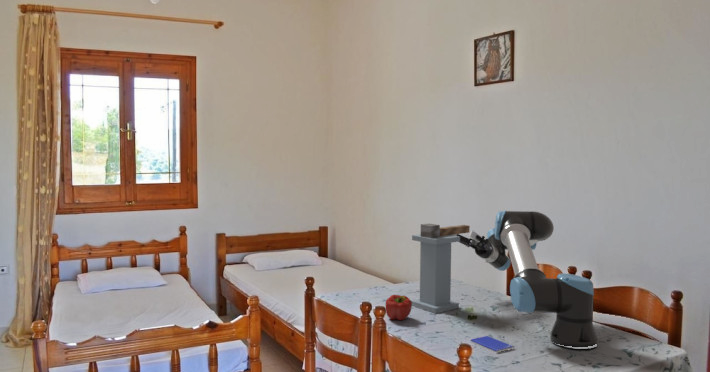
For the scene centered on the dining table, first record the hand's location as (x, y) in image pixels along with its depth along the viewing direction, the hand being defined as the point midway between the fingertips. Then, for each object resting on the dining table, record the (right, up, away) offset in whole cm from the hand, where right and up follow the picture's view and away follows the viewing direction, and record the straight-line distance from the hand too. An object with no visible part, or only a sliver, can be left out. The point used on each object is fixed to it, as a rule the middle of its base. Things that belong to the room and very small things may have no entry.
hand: (458, 231), depth 248 cm
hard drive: (+2, -35, -54) cm, 64 cm away
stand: (-11, -31, -7) cm, 34 cm away
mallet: (-6, -1, -5) cm, 8 cm away
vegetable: (-28, -33, -25) cm, 50 cm away
